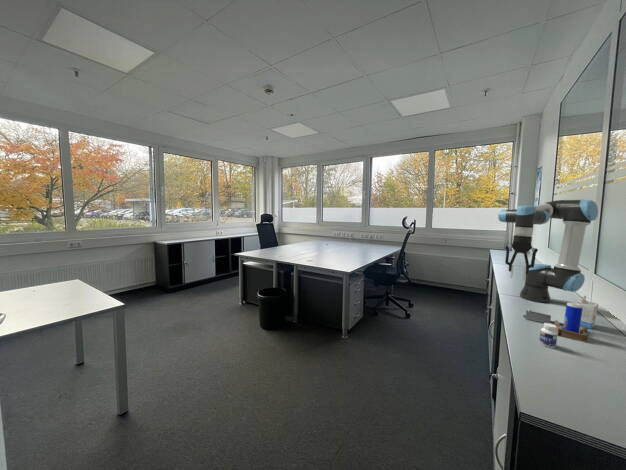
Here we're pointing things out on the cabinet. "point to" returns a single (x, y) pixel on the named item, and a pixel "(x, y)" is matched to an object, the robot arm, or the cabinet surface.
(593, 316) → the ink box
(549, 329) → the pill bottle
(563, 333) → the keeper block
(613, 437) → the cabinet surface
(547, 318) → the latch block with knob
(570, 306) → the beverage can
